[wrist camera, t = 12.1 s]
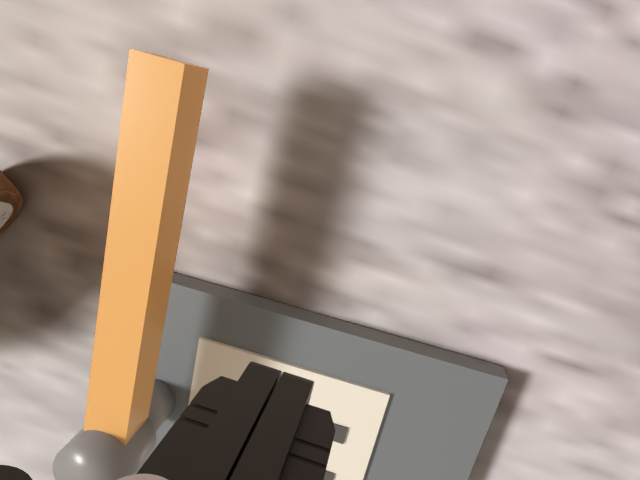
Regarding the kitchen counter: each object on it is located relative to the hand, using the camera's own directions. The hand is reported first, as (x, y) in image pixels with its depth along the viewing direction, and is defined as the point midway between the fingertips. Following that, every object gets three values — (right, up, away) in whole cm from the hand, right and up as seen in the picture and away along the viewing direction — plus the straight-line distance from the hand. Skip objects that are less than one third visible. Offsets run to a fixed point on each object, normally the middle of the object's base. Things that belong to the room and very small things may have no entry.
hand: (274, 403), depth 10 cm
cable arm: (-7, +2, +10) cm, 12 cm away
